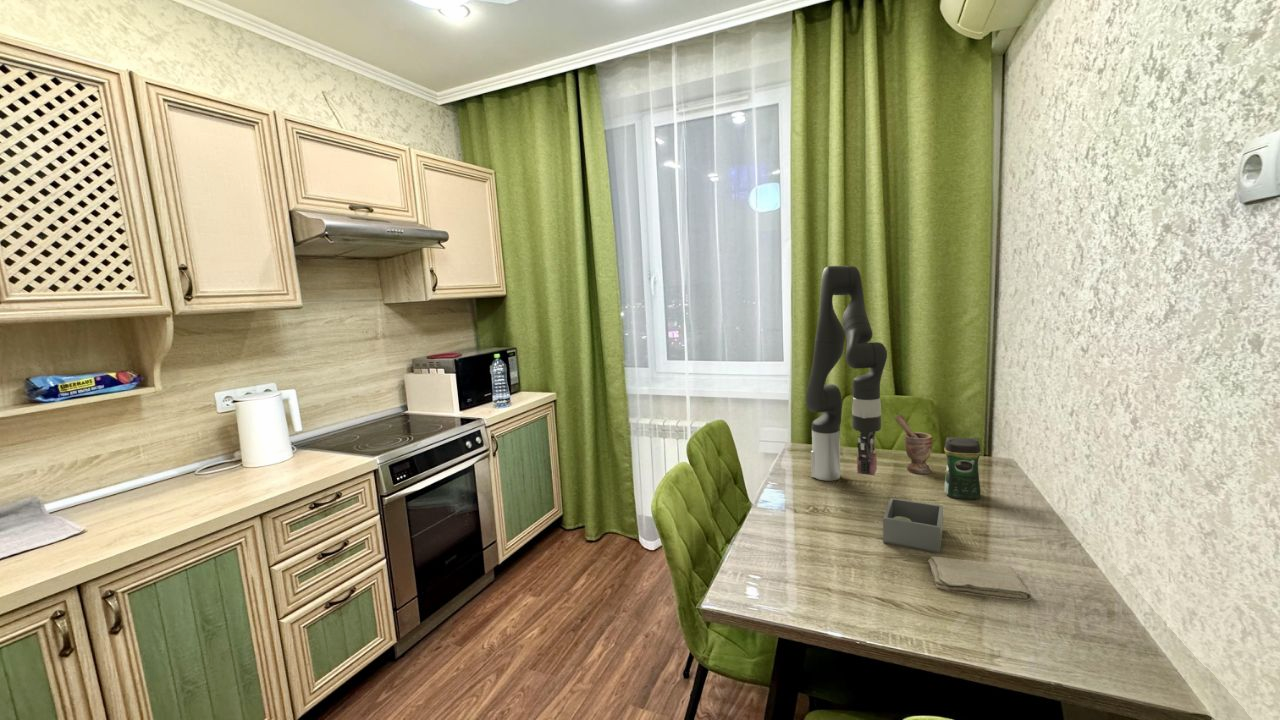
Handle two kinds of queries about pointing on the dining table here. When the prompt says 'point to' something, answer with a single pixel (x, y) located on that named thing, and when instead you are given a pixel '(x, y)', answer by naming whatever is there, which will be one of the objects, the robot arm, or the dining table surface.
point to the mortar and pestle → (916, 447)
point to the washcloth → (978, 578)
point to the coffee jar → (962, 468)
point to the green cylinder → (902, 518)
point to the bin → (913, 525)
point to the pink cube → (872, 464)
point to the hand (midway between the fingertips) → (866, 470)
